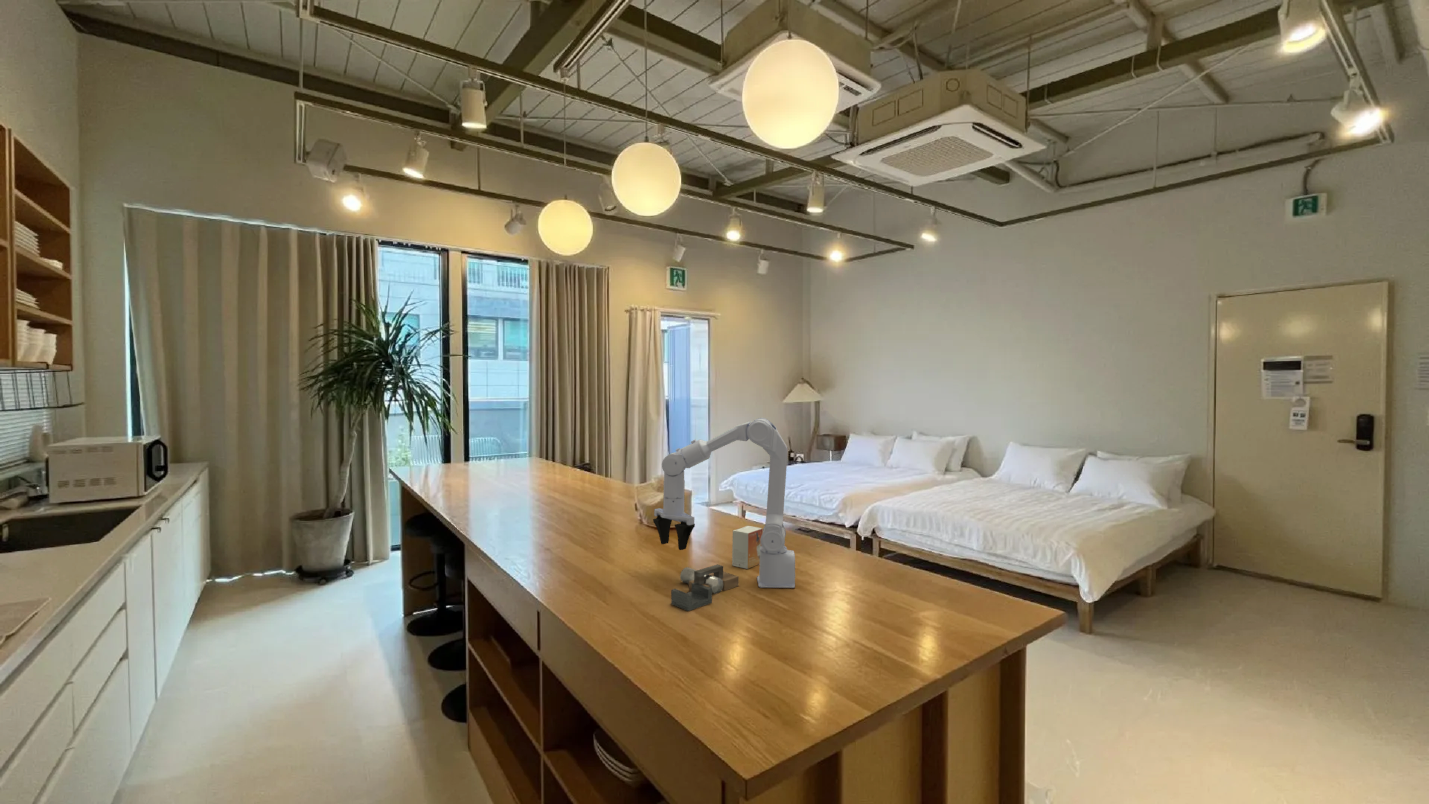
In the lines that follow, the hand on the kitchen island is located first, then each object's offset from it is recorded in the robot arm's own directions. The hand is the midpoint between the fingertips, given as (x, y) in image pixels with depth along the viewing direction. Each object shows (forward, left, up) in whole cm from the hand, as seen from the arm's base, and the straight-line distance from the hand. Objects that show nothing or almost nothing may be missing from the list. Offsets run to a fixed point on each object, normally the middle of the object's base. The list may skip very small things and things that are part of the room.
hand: (673, 546), depth 162 cm
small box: (-21, -12, -9) cm, 26 cm away
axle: (-8, +8, -9) cm, 14 cm away
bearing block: (-11, +9, -8) cm, 16 cm away
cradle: (-6, +19, -8) cm, 22 cm away
